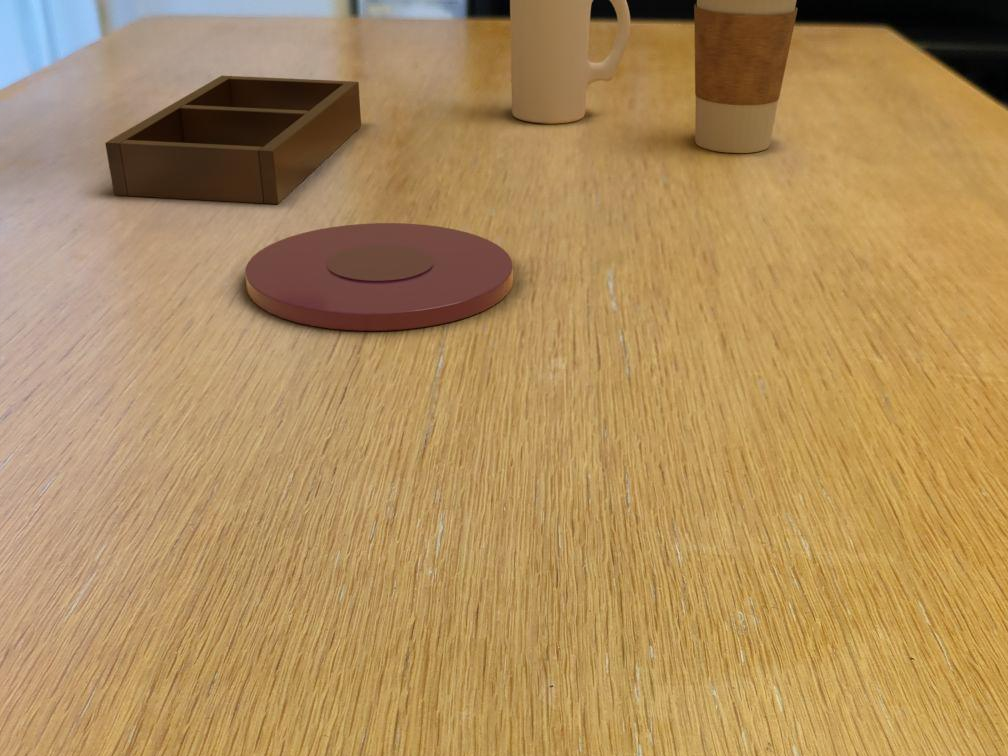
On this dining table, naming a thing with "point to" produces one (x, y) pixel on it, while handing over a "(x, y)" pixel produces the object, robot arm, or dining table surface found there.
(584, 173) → the dining table surface
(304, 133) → the divided wooden tray
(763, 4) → the coffee cup
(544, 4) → the mug
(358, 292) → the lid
